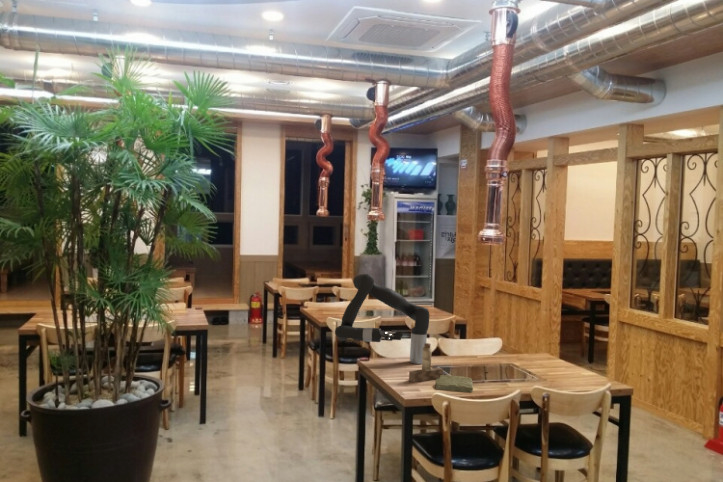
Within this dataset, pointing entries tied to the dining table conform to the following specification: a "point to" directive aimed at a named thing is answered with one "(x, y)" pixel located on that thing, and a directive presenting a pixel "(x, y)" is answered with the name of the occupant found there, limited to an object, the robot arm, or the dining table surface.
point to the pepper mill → (426, 357)
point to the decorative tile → (454, 383)
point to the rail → (425, 375)
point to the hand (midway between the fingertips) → (401, 336)
